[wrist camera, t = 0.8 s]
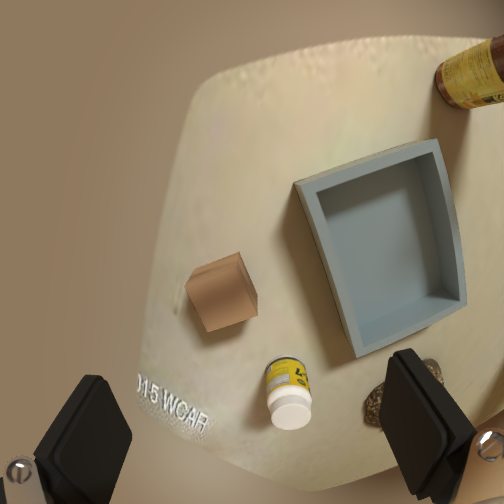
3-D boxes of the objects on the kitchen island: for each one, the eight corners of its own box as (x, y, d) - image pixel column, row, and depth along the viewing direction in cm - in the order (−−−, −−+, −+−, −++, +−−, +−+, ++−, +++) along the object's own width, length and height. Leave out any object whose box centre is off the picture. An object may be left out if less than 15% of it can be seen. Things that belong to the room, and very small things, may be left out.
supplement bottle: (310, 375, 35) (321, 423, 27) (276, 389, 36) (279, 438, 27) (295, 347, 34) (304, 395, 26) (258, 363, 34) (258, 412, 26)
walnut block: (257, 294, 32) (257, 315, 27) (214, 309, 33) (207, 332, 28) (239, 251, 31) (235, 267, 26) (194, 268, 32) (184, 286, 27)
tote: (445, 288, 32) (467, 304, 27) (344, 334, 33) (356, 358, 28) (412, 141, 27) (437, 138, 23) (293, 182, 29) (300, 185, 24)
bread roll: (439, 347, 34) (456, 366, 30) (439, 402, 37) (452, 422, 32) (356, 384, 36) (366, 409, 31) (368, 435, 39) (376, 457, 34)
